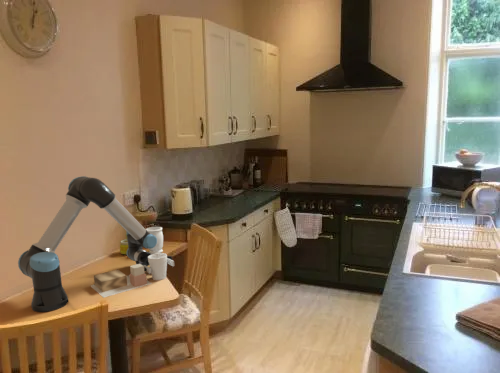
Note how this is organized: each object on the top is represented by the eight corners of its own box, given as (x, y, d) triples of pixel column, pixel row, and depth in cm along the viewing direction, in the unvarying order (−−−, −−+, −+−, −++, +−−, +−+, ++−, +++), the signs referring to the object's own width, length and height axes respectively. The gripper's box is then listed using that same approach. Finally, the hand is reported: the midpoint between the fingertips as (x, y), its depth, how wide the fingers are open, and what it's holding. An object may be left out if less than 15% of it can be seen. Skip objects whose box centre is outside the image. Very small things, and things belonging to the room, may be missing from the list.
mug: (133, 255, 266) (131, 236, 264) (117, 255, 268) (115, 236, 266) (142, 249, 278) (140, 231, 276) (126, 249, 280) (125, 231, 278)
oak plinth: (102, 292, 205) (101, 281, 205) (94, 285, 215) (93, 275, 214) (127, 285, 212) (126, 275, 212) (118, 278, 222) (117, 269, 221)
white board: (103, 300, 199) (103, 297, 199) (90, 288, 215) (90, 285, 215) (152, 286, 213) (152, 283, 213) (136, 276, 229) (136, 273, 229)
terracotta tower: (135, 286, 210) (133, 268, 208) (130, 283, 214) (128, 266, 213) (146, 283, 213) (145, 265, 212) (142, 280, 218) (140, 263, 216)
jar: (160, 254, 264) (158, 230, 262) (144, 254, 266) (142, 230, 264) (167, 249, 274) (165, 226, 272) (151, 249, 276) (149, 226, 274)
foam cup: (146, 283, 217) (144, 258, 215) (155, 276, 226) (153, 252, 224) (163, 284, 215) (161, 259, 213) (172, 277, 223) (170, 253, 221)
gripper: (164, 258, 243) (184, 267, 226) (122, 271, 228) (140, 281, 211) (163, 245, 241) (182, 253, 225) (121, 257, 227) (138, 266, 210)
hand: (162, 267), depth 218 cm, fingers open, 12 cm apart
